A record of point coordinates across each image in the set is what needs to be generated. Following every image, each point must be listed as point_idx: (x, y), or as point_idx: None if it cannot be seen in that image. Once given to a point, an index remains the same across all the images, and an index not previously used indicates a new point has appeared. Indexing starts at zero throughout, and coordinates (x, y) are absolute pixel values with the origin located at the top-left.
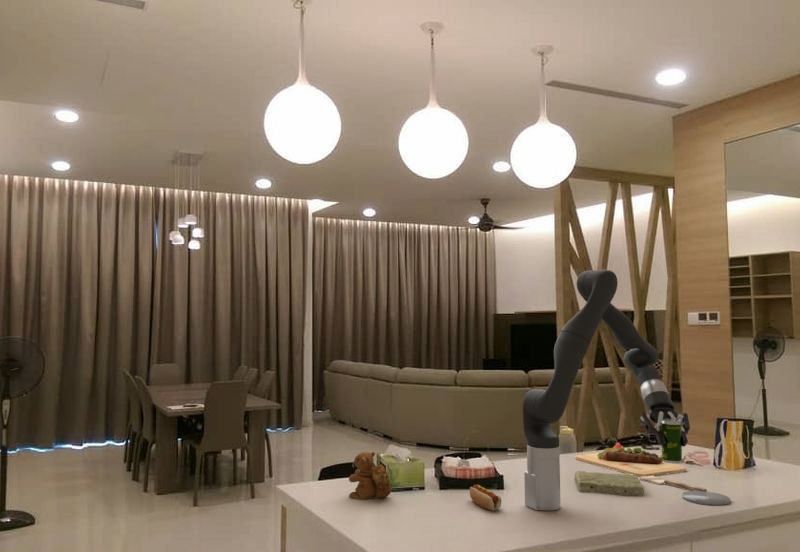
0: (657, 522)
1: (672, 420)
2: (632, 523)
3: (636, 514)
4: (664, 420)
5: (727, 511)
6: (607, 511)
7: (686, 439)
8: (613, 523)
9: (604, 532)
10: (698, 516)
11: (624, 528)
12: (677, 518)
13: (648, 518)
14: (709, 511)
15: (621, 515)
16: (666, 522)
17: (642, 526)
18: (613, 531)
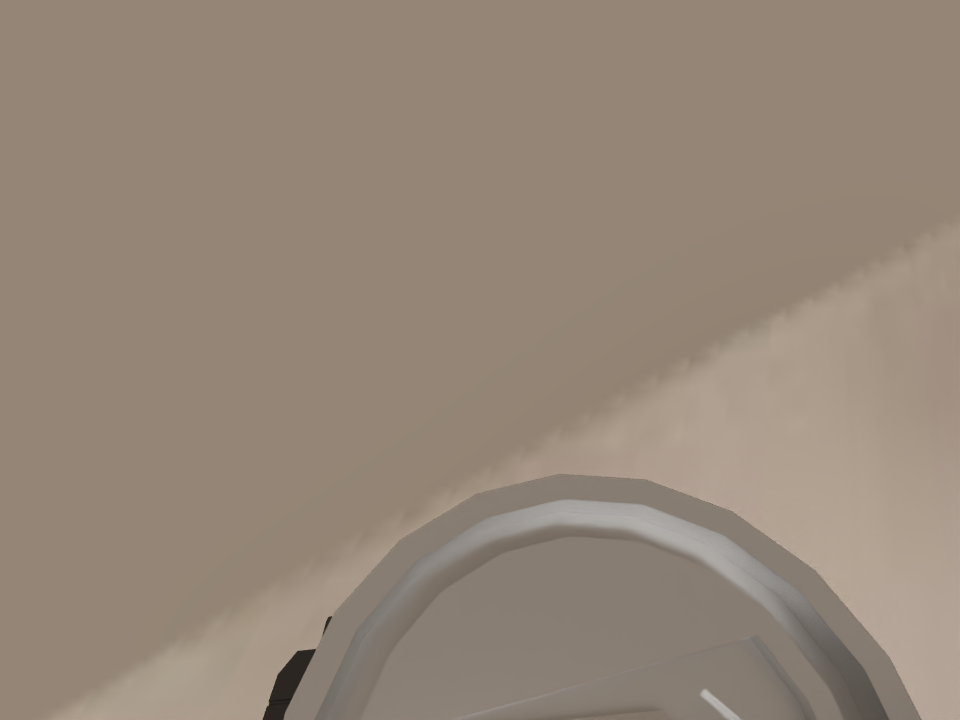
0: (678, 396)
1: (590, 604)
2: (802, 370)
3: (776, 526)
4: (862, 633)
5: (195, 650)
6: (949, 573)
7: (290, 688)
8: (894, 362)
9: (921, 249)
10: (428, 520)
11: (839, 302)
12: (559, 472)
13: (716, 457)
14: (313, 638)
15: (861, 498)
16: (633, 400)
17: (757, 334)
18: (885, 263)
